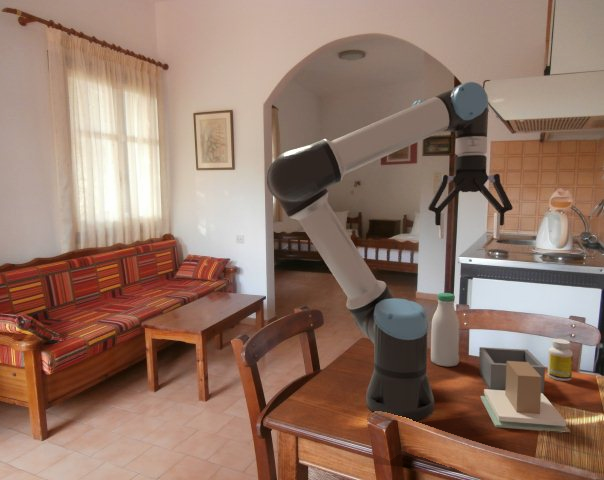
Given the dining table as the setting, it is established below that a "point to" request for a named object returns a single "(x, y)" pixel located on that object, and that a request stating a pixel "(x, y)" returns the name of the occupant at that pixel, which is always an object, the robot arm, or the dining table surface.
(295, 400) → the dining table surface
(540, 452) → the dining table surface
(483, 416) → the dining table surface
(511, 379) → the lid
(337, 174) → the robot arm
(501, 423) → the mat
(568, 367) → the supplement bottle
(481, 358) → the box
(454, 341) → the milk bottle
